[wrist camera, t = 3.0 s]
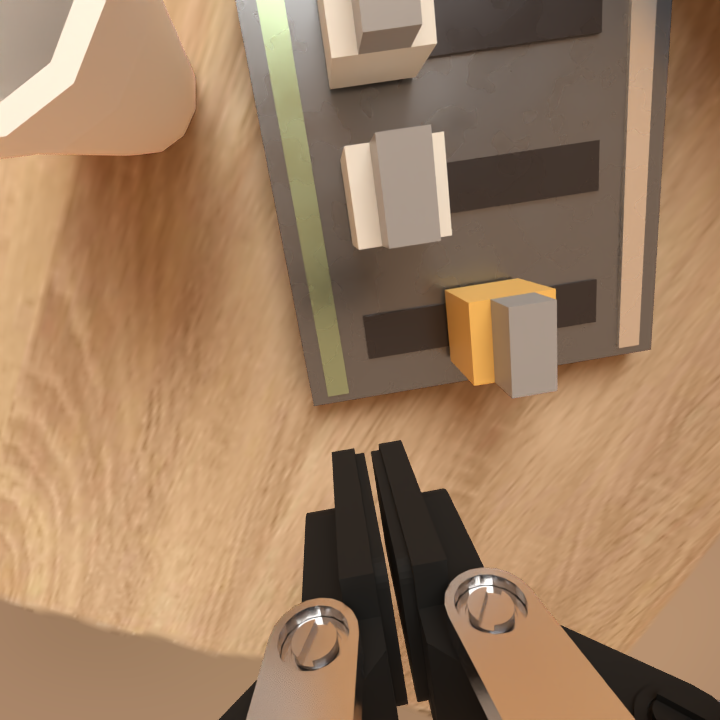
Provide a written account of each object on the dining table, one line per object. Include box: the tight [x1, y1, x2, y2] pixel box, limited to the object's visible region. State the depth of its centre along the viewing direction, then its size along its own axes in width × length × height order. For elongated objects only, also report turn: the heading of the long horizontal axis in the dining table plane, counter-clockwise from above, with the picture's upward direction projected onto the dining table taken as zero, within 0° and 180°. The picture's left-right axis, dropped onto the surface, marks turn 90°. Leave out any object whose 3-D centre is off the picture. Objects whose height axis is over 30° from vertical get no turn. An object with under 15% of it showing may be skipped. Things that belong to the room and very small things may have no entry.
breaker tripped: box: [445, 278, 557, 398], centre depth 21 cm, size 4×4×6 cm
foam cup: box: [0, 0, 196, 159], centre depth 15 cm, size 10×9×13 cm
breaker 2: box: [340, 124, 452, 250], centre depth 19 cm, size 4×4×6 cm
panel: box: [235, 0, 672, 406], centre depth 23 cm, size 20×21×2 cm
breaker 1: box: [317, 0, 437, 89], centre depth 17 cm, size 4×4×6 cm
